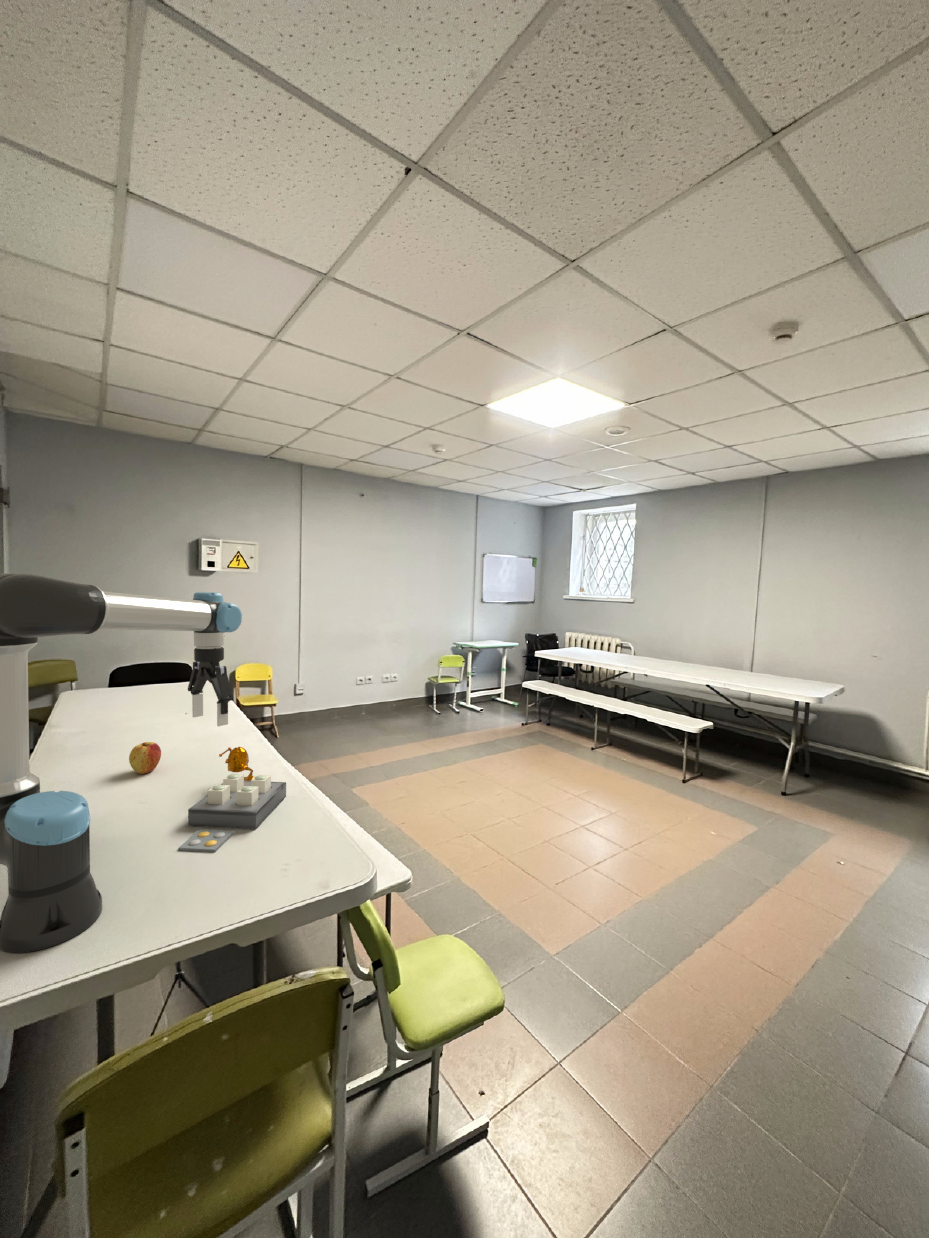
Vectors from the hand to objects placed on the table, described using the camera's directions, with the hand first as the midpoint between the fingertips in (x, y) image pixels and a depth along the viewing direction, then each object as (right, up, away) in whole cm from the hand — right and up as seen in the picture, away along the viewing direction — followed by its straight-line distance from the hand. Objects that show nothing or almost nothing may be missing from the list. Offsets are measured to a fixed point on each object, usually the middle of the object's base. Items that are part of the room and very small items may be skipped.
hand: (209, 720), depth 142 cm
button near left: (+6, -21, -6) cm, 23 cm away
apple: (-33, -22, +23) cm, 46 cm away
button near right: (+14, -21, -7) cm, 26 cm away
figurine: (+1, -24, +16) cm, 29 cm away
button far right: (+14, -21, +1) cm, 25 cm away
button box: (+10, -25, -2) cm, 27 cm away
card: (+9, -26, -19) cm, 33 cm away
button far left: (+6, -21, +2) cm, 21 cm away
